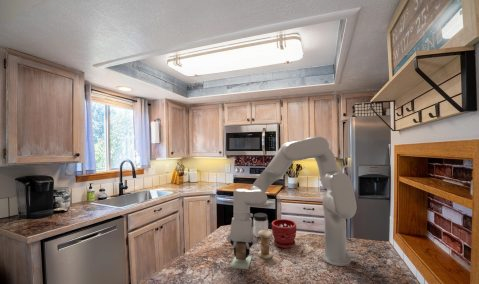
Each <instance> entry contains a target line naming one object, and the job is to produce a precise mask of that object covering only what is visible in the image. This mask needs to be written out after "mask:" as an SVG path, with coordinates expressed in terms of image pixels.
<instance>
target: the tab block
mask: <svg viewBox="0 0 479 284" xmlns="http://www.w3.org/2000/svg"><path fill="white" fill-rule="evenodd" d="M246 247H247V246H246V242H239V241H237V242H236V259H238V260H246Z"/></svg>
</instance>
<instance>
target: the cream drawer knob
mask: <svg viewBox="0 0 479 284" xmlns="http://www.w3.org/2000/svg"><path fill="white" fill-rule="evenodd" d="M258 236H260V237H259V238H260V250H259V251H258V252H257V255H258V256H257V257H258V258H260V259H262V260H269V259H272V257H273V252H272V251H270V238H271V237H273V233H272V230H271V231H270V230H269V229H268V230H261V231H259V232H258Z"/></svg>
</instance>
